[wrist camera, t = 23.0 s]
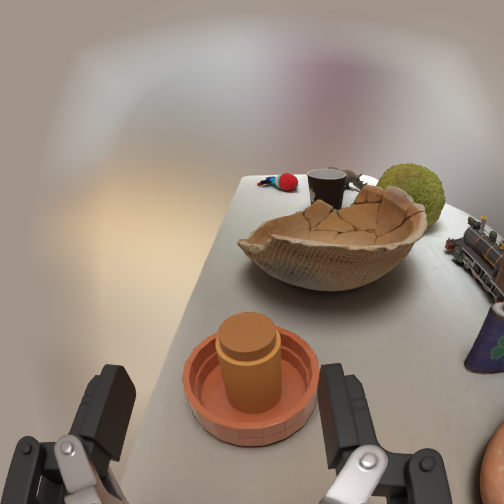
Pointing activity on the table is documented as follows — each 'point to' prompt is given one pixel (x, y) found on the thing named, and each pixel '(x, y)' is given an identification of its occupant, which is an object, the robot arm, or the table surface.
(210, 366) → the terracotta bowl
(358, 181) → the rhino figurine
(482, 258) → the toy train
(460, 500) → the table surface
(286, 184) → the toy figure
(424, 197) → the fruit
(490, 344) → the flask
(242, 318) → the orange lidded canister
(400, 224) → the ceramic bowl
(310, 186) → the coffee mug
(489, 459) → the ceramic jug
